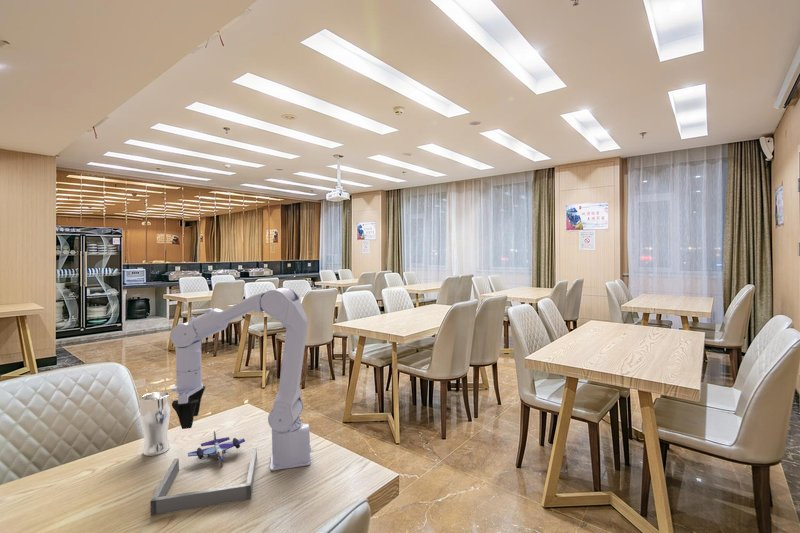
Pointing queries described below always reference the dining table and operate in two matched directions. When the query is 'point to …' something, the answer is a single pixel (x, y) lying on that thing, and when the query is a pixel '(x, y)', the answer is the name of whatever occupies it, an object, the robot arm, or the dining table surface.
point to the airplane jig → (199, 492)
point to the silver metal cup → (155, 422)
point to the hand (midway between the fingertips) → (190, 421)
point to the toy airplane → (217, 447)
